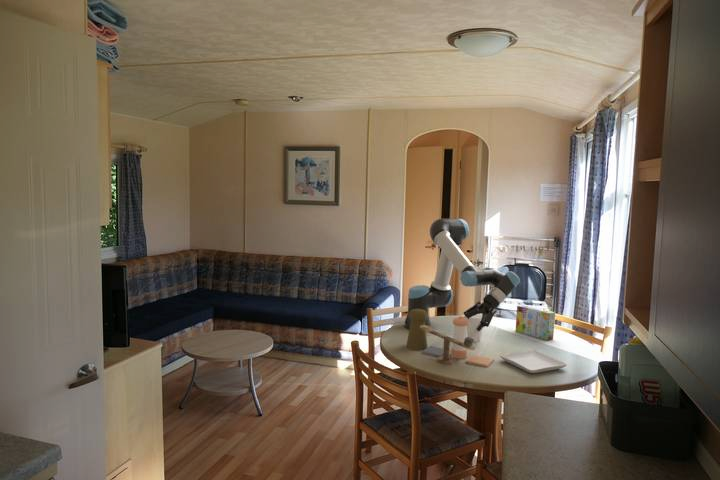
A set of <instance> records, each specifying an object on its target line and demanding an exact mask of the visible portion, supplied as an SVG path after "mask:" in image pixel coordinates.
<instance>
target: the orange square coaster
mask: <svg viewBox="0 0 720 480" xmlns="http://www.w3.org/2000/svg"><path fill="white" fill-rule="evenodd" d="M494 362H495V359H494V358H491V357H486V356H482V355H476V354H473V355H471V356H470V357H469V358H467V359H466V360H465V363H466V364H470V365H474V366H479V367H484V368H489V367H490V365H491V364H493V363H494Z"/></svg>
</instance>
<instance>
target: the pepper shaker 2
mask: <svg viewBox="0 0 720 480" xmlns="http://www.w3.org/2000/svg"><path fill="white" fill-rule="evenodd" d="M452 324H453V326H454V329H453V337H452V338H453V339H455V340H458V341H460V342H462V343H464V340H465V338H466V337H467V325H468V321H467V319H465V318H463V316H462V315H459V317H455V318H453V320H452ZM451 343H452V342H451ZM450 348H451V350H450V351H451V352H450V356H451V358H453V359H466V358H467V355H468V354H467V353H468V350H467V349H466V348H464V347H462V346H460V345H457V344H455V343H452V347H450Z"/></svg>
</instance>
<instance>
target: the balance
mask: <svg viewBox="0 0 720 480" xmlns="http://www.w3.org/2000/svg"><path fill="white" fill-rule="evenodd" d="M420 329H422V330H423V331H426V333H429V334H432V335H433V336H436V337H438V338H440V339H443V349H444V350H443V356H440V357H437V358H436V362H438V363H442V364H446V365H453V364H454V363H455V362H456V358H454V357H450V344H451V343H455V344H457V345H460V346H462V347H464V348H466V349H468V350H470V351H474V350H476V345H474V344H473V343H474V341H473V340H474V339H472V338H469V337H468V336H466V338H465V340H464V343H462V342H460V341H458V340H455V339H453V337H450V336H447V335H446V334H443V333H440V332H438V331H435V330H434V329H433V327H432V326H431V327H429V326H426V325H421V326H420Z"/></svg>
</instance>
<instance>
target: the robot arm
mask: <svg viewBox="0 0 720 480" xmlns="http://www.w3.org/2000/svg"><path fill="white" fill-rule="evenodd" d="M469 235H470V227H469V224H468V223H467V221H466V220H464V219H463V218H458V217H456V218H438V219H436V220H434V221H433V222H432V223H431V225H430V228H429V236H430V238H431V240H432V242H433V243H434V245H435V246H438V247H439V248H440V250H441V251H440V255H439V260H438V263H437V268H436V272H435V276H434V280H433V281H431V283H430V286H428V285H424V284H423V285H422V284H421V285H420V284H419V285H413V286H412V287H410V288H409V289H408V294H407V297H408V298H407V300H408V301H407V314H406V317H405V320H404V322H403V324H404V325H403V326H404V328H405V329H407V330H409V328H410V322H411V320H410V319H409V312H410V311H411V310H412V309H423V310H425V311H426V312H427V320H426V321H425V325H426V326H429V327H431V328H432V323H431V319H430V315H429V309H433V308H444V307H447V306H449V305H450V304H452V301H453V298H454V293H453V289H452V286H451V285H450V281H451V277H452V274H453V269H454V268H456V270H457V272H458V273H459V274H460V275H459V276H460V277H459V280H460V283H461V285H462V286H464V287H473V288H474V287H480V286H493V287H492V288H491V290H489V292H488V293H487V294H486V295H485V296H484V297H483V298H482V300H483V302H482V303H481V302H480V301H478V302H477V303H475V304H474V305H473V306H470V308H468V309H466V310H465V311H463V316H462V318H465V319H467V321H468V320H469V318H470V317H472V316H474V315H476V314H481V315H482V319H481V322H480V323H481V324H480V323H478V324H477V325H476V326H475V328H474V329H473V330H472V331H471V332H470V334H471V335H472V336H473V337H475V336H476V334H477V333H478V332H479V331H480V330H481V329H482V330H483V328H485V327H487V328H488V327H490V324H491V321H492V320H493V318H494V316H495V313H497V310H496V309H497V308H499V306H501V305H500V304H502V303H503V302H504V301H505V300H506V299H507V297H508V296H509V295H510V294H511V293H512V292H513V291H514V290H515V289H516V288H517V286H518V285H519V284H520V282H521V278H520V277H519V276H518V275H517V274H516V273H515V272H513V271H511V270H509V271H507V272H506V273H503V272H500V271H499V270H497V269H496V268H493V267H490V266H487V267H485V268H483V269H480V270H478V269H477V268H476V267H475V266H474V265H473V264H472V262H471V261H470V260H469V258H467V256H466V255H465V254H464V252H463V251H462V250H461V248H460V246H461V245H463V244H462V243H463V241H464V240H466V239H468V237H469Z"/></svg>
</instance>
